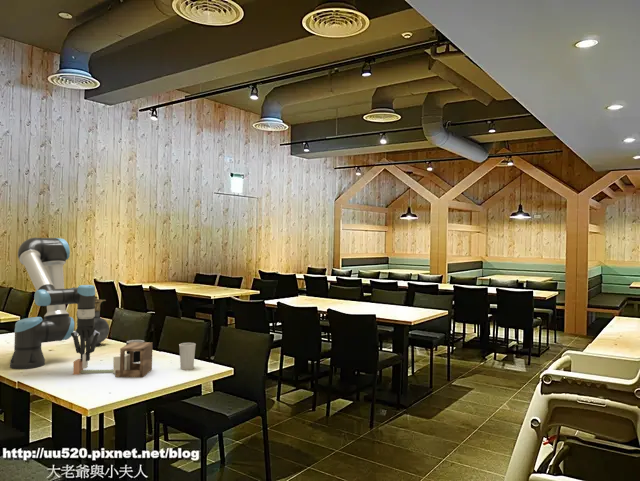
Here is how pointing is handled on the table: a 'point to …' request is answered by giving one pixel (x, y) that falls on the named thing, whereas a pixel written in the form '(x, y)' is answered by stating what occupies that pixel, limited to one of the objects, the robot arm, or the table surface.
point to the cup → (187, 355)
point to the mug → (136, 353)
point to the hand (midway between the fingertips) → (85, 367)
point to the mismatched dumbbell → (116, 366)
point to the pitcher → (99, 324)
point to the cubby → (136, 368)
